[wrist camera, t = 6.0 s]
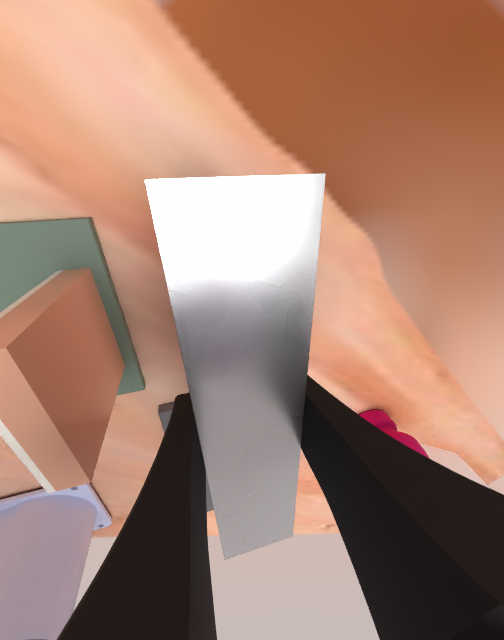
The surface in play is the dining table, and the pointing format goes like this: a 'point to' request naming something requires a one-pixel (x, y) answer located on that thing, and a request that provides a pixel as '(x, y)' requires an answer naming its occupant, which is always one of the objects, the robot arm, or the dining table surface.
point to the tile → (58, 378)
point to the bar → (244, 334)
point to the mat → (63, 254)
